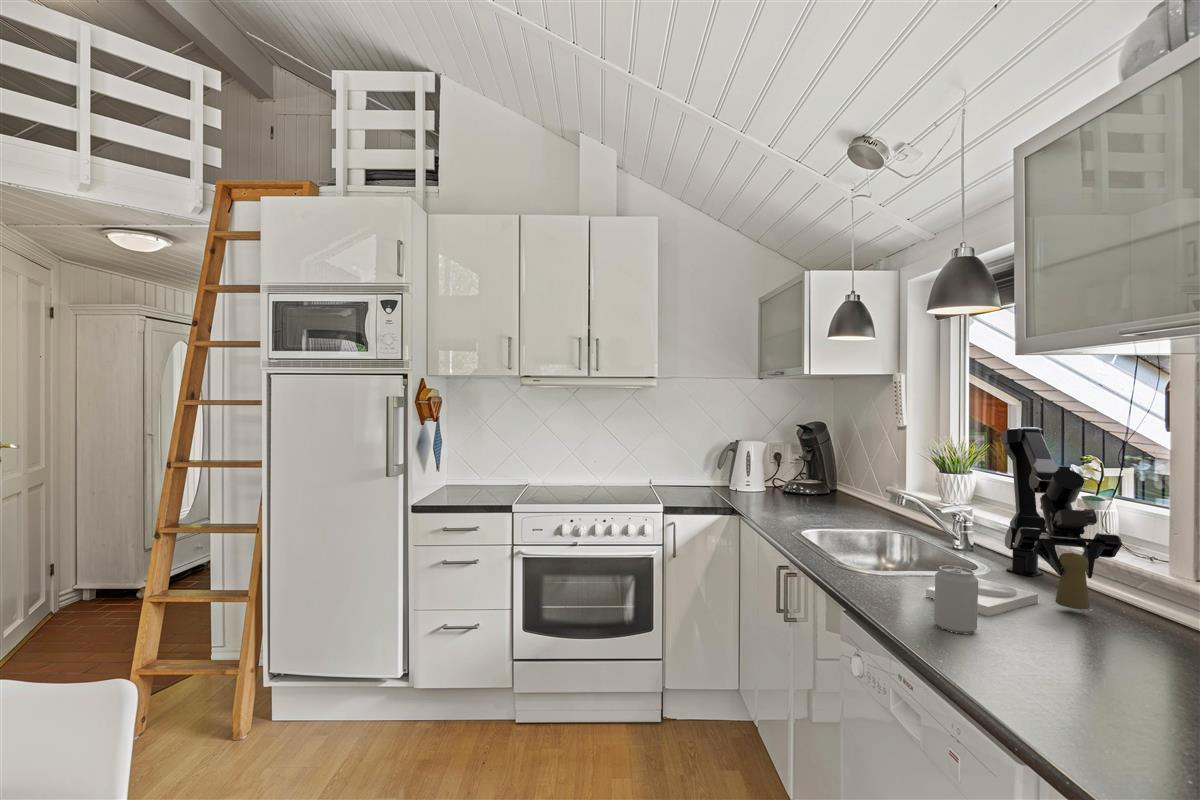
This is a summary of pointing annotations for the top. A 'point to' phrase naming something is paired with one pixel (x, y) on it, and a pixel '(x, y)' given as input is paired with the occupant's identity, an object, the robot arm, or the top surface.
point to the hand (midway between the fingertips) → (1075, 576)
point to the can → (956, 599)
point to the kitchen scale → (997, 597)
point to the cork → (1073, 582)
